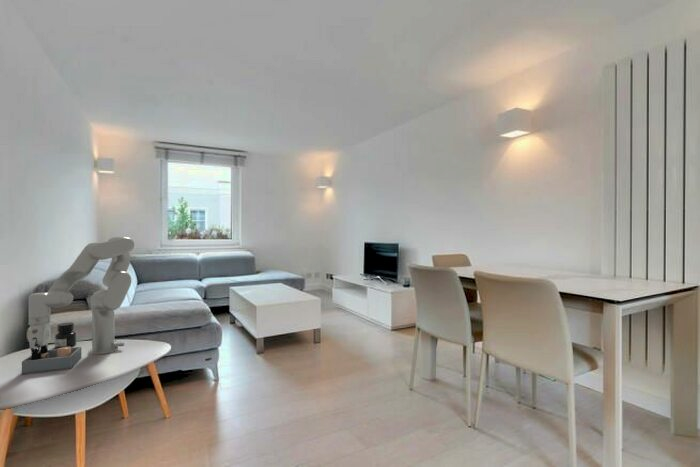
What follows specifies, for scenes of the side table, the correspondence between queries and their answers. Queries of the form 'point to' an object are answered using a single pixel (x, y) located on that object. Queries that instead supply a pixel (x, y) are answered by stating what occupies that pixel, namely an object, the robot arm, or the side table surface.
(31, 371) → the tote
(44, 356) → the walnut cube
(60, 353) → the peach domed capsule
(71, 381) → the side table surface
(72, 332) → the ink bottle
